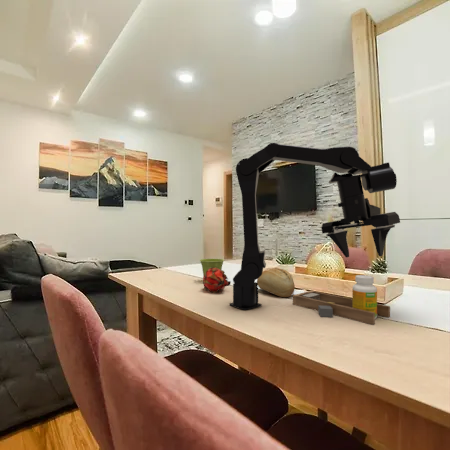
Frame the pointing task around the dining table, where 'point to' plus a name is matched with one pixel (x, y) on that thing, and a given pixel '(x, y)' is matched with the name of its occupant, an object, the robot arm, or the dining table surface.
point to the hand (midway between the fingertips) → (363, 256)
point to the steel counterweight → (312, 296)
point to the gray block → (325, 311)
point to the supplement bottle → (365, 294)
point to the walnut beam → (340, 306)
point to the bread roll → (277, 282)
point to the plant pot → (211, 264)
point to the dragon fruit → (215, 279)
